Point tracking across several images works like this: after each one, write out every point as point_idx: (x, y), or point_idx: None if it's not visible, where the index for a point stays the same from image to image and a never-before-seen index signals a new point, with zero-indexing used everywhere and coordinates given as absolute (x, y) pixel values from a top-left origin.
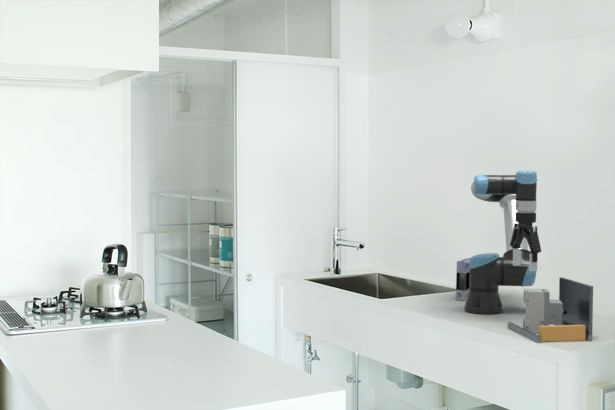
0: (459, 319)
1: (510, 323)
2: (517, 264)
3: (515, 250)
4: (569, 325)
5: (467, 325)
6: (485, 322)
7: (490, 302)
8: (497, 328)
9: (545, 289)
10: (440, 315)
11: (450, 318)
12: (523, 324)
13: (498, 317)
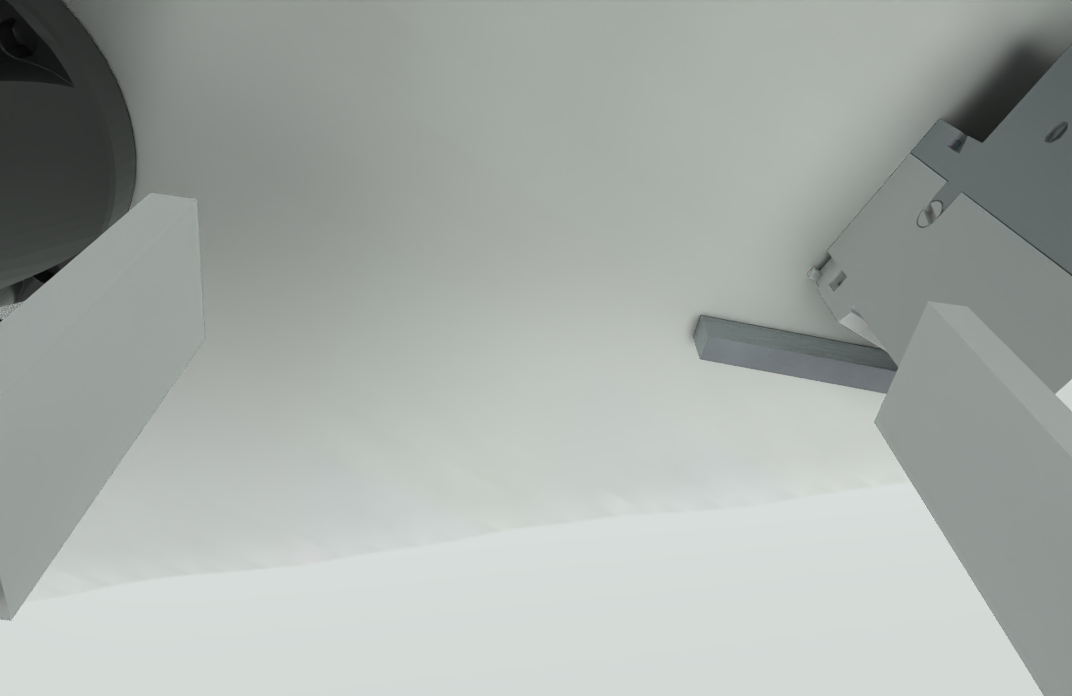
0: (303, 472)
1: (750, 365)
2: (191, 271)
3: (34, 542)
4: None
5: (515, 521)
6: (457, 372)
7: (58, 181)
8: (681, 409)
9: None
10: (133, 511)
11: (255, 504)
12: (825, 294)
13: (283, 164)
